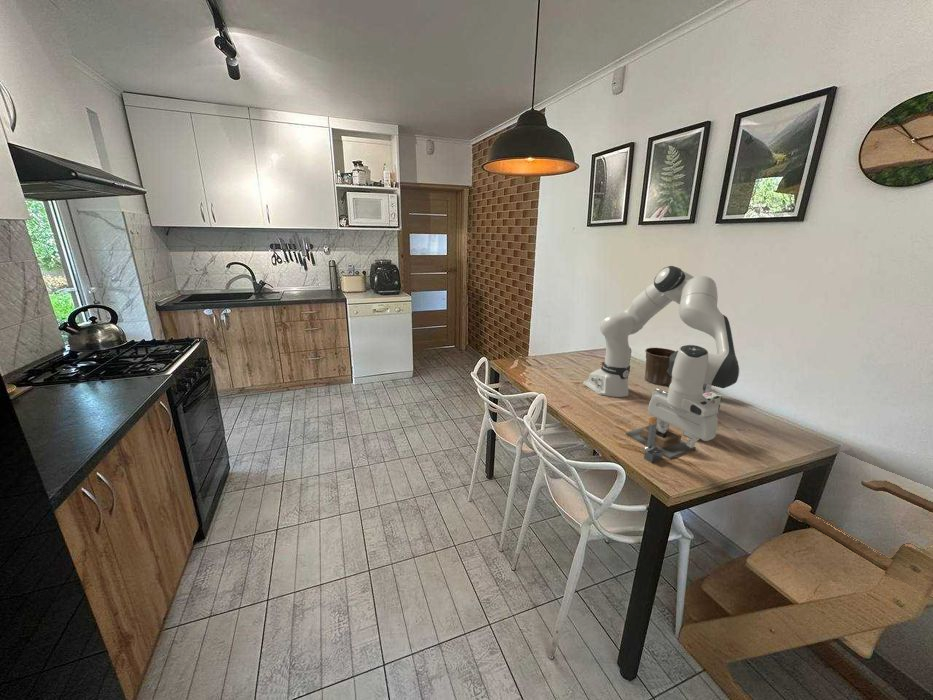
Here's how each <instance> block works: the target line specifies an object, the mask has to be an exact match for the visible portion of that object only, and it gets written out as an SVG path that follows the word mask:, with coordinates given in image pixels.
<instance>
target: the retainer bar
mask: <svg viewBox="0 0 933 700" xmlns="http://www.w3.org/2000/svg"><path fill="white" fill-rule="evenodd" d="M648 426H649V432H648V441H647V446H648V447H651V446H654V445H655V436H656V427H657V418H656V417H654V416H652V417H650V418H649V421H648ZM647 446H646V447H647Z"/></svg>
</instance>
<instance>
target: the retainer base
mask: <svg viewBox="0 0 933 700" xmlns="http://www.w3.org/2000/svg"><path fill="white" fill-rule="evenodd" d="M642 451H643V453H644V456H643V459H644V460H646V461H648V462H649V463H651V464H653V463H655V462H659V461H661V460H662V459H663V451H661V450H660V449H658V448H657V446H656V445H654V446H651V447H647V446H646V447H644V448H643V449H642Z"/></svg>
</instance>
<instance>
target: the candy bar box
mask: <svg viewBox="0 0 933 700" xmlns="http://www.w3.org/2000/svg"><path fill="white" fill-rule="evenodd" d="M702 395H703V396H704V397H705V398H706V399H708V400H709V401H710V402H712V403H713V404H714V405H716V406H717V407H718V412H717V413H716V414H714V415H715V416H716V417H717V418H718V416H719V411H720V407H721V402H722V398H723V395H721V394H719V393H715V392H713V391H711V390H710V391H709V392H705V393H703V394H702ZM682 435H683V436H685V437H687V438H689V439H691V440H692V439H693V438H692V435H691V434H689V433H687V432H685V431H683V434H682Z"/></svg>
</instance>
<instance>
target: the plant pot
mask: <svg viewBox="0 0 933 700" xmlns="http://www.w3.org/2000/svg"><path fill="white" fill-rule="evenodd" d="M676 351H677V350H673V349H669V348H663V347H648V348H646V349H645V372H644V373H645V375H644V380H645V381H647V382H648V383H650V384H652V383H653V385H658V386H663V385H665V386H668V385H670V384H671V382H672V377H671V376H670V375H669V374H668V372H667V370H668V368H669V362H670V355H671V354H673V353H674V352H676Z"/></svg>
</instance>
